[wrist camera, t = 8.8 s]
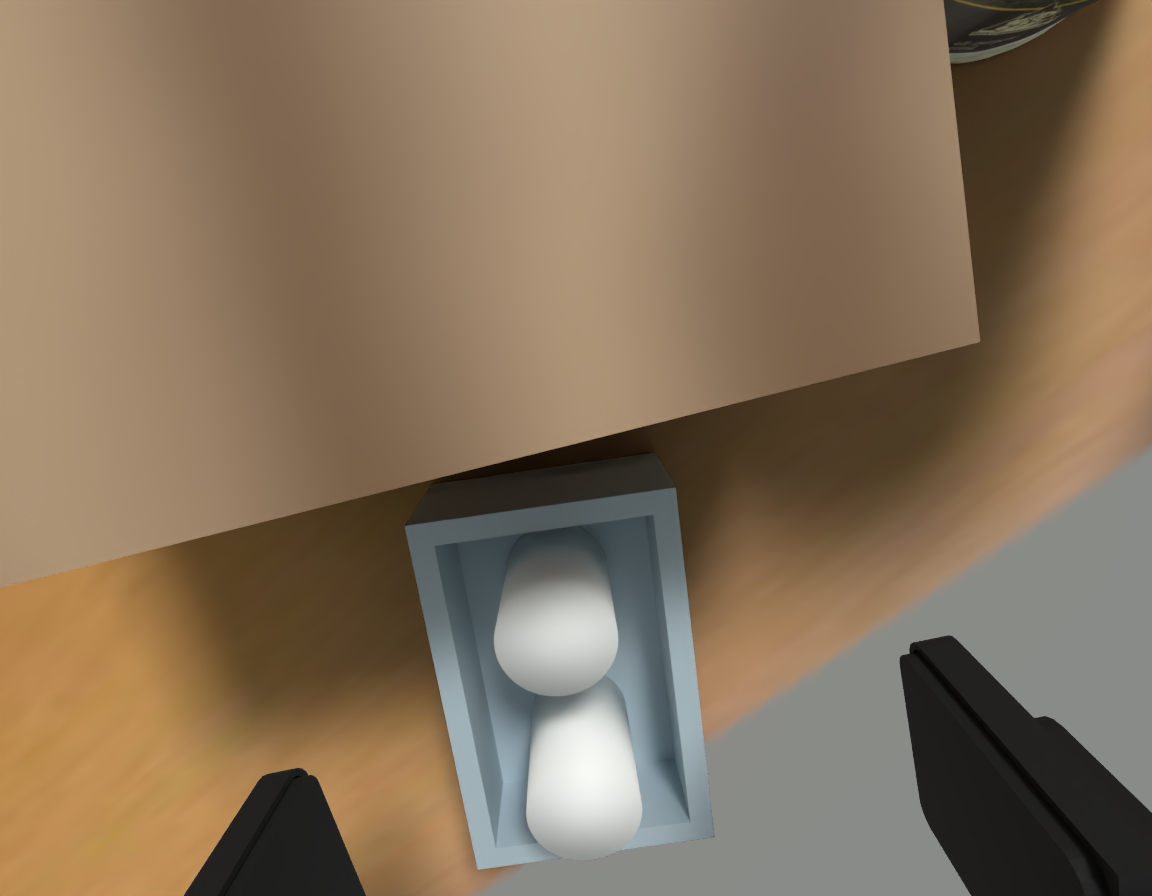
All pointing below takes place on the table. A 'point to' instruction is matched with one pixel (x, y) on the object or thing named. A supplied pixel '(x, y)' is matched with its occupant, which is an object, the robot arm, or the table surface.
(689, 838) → the tray
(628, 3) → the wooden footstool
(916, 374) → the table surface
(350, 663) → the table surface
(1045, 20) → the coffee can
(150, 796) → the table surface
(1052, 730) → the robot arm
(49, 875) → the table surface
